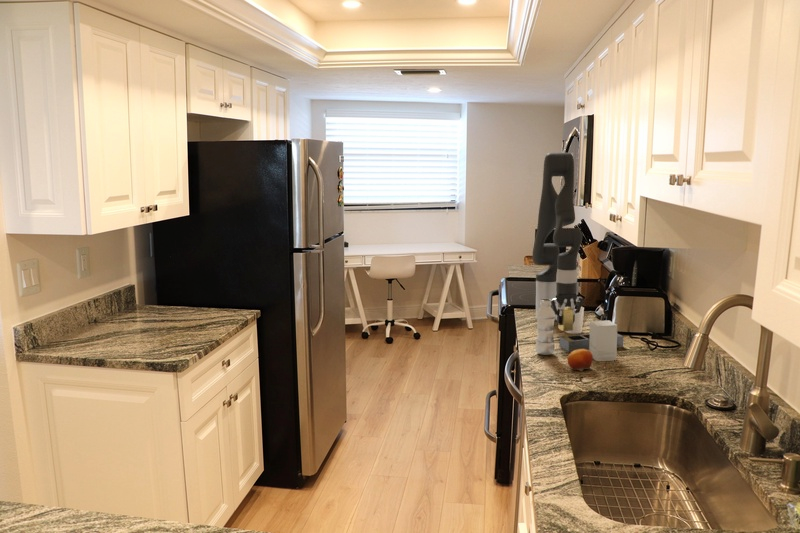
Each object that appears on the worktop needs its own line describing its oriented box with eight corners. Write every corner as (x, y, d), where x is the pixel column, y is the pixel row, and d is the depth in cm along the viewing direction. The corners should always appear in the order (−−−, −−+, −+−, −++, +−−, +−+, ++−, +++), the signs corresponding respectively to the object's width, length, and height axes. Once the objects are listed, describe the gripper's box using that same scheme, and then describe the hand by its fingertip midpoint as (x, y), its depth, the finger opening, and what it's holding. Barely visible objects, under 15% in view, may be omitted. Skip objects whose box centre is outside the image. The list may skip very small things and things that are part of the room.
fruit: (583, 371, 206) (575, 347, 208) (568, 377, 212) (560, 354, 215) (602, 367, 209) (593, 344, 212) (587, 373, 216) (578, 350, 218)
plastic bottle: (539, 350, 234) (540, 297, 230) (557, 353, 230) (558, 299, 227) (532, 355, 229) (532, 300, 225) (550, 358, 225) (551, 302, 221)
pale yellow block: (558, 328, 246) (558, 308, 245) (567, 327, 247) (568, 307, 246) (563, 331, 242) (563, 310, 241) (572, 330, 243) (573, 310, 242)
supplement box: (617, 360, 220) (618, 325, 218) (596, 361, 220) (596, 326, 217) (608, 354, 227) (609, 319, 225) (588, 355, 227) (589, 320, 225)
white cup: (581, 329, 261) (582, 305, 259) (585, 334, 253) (585, 309, 252) (561, 329, 262) (562, 305, 260) (564, 334, 254) (565, 309, 252)
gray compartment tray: (559, 347, 237) (559, 336, 237) (612, 341, 242) (612, 331, 242) (568, 352, 231) (568, 341, 230) (623, 346, 236) (623, 336, 235)
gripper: (578, 277, 246) (577, 320, 250) (544, 279, 243) (544, 323, 246) (588, 281, 239) (587, 325, 242) (553, 283, 236) (553, 328, 239)
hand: (565, 324), depth 244 cm, fingers closed on pale yellow block, 4 cm apart
